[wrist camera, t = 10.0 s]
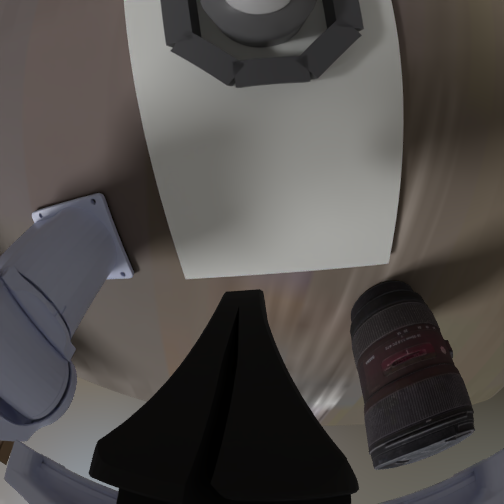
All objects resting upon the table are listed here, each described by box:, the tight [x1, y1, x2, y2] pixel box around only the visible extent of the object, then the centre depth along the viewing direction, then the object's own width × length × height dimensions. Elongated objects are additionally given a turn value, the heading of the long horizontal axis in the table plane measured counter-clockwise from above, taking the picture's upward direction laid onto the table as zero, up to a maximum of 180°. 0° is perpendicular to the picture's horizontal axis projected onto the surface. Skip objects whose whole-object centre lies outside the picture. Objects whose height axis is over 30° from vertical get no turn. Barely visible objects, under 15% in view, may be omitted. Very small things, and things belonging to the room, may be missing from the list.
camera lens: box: [350, 281, 475, 470], centre depth 17 cm, size 8×8×15 cm
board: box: [124, 0, 403, 279], centre depth 13 cm, size 16×24×3 cm, turn 7°
